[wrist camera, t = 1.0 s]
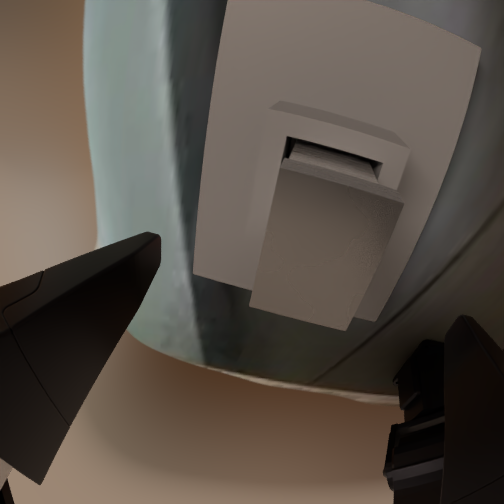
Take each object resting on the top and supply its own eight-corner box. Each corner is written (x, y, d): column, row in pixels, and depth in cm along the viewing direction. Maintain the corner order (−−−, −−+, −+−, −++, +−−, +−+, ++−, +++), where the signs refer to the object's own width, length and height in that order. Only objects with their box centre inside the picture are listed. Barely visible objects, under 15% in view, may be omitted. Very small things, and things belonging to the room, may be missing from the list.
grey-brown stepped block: (367, 135, 16) (406, 204, 8) (342, 215, 18) (346, 331, 11) (302, 117, 16) (277, 167, 8) (283, 199, 19) (247, 305, 11)
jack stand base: (470, 49, 12) (516, 47, 8) (373, 308, 23) (378, 363, 19) (239, -16, 14) (207, -43, 9) (199, 262, 25) (171, 309, 20)
